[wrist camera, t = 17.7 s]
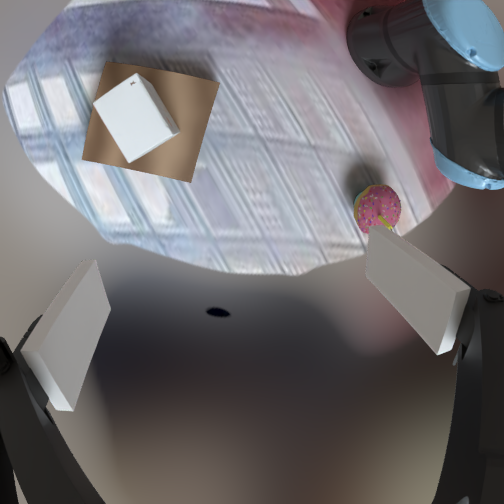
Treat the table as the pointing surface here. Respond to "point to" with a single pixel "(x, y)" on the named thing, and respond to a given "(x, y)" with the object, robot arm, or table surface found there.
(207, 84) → the walnut block
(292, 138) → the table surface
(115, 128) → the small box
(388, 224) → the cupcake
